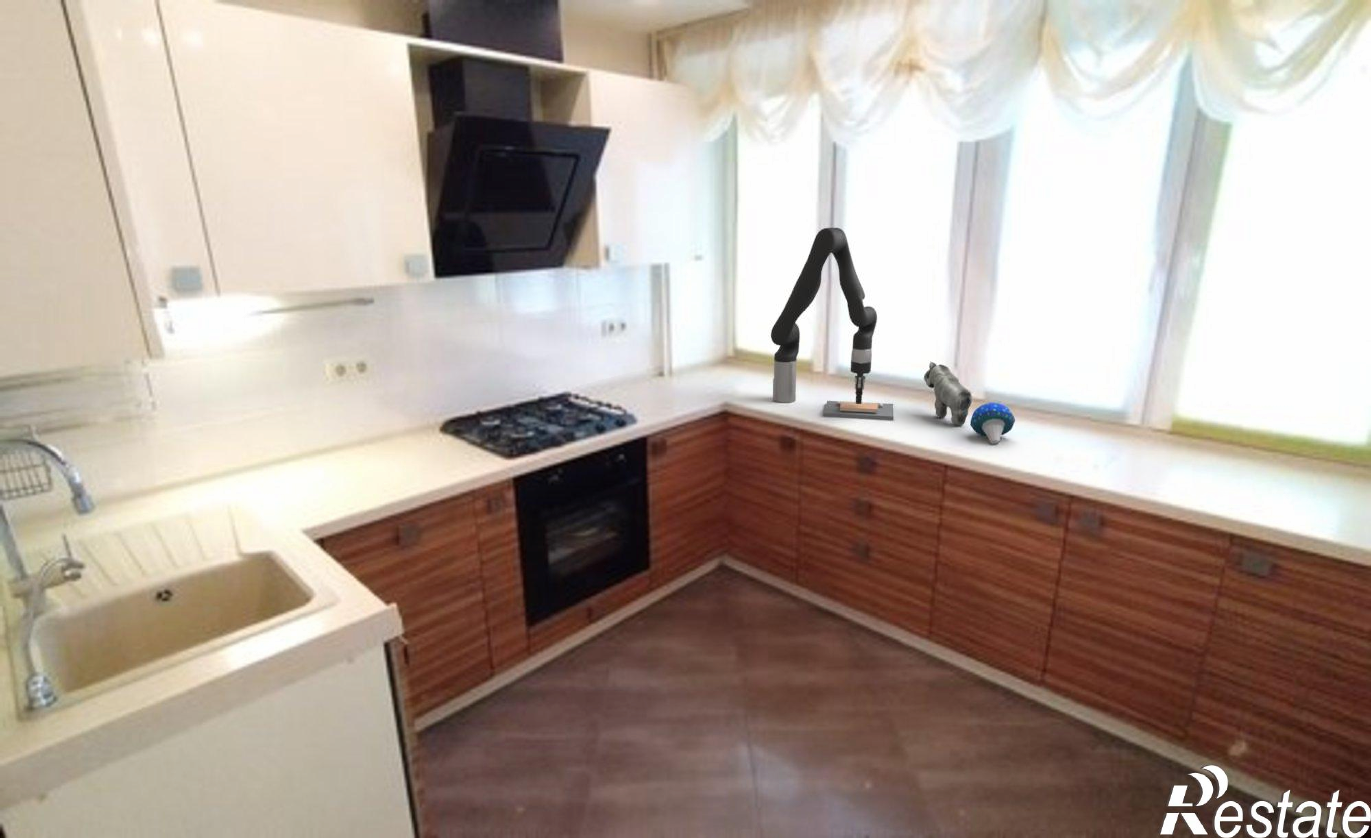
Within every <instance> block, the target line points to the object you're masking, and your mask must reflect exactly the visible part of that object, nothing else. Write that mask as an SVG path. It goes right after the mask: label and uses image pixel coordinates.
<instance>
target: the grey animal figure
mask: <svg viewBox="0 0 1371 838" xmlns="http://www.w3.org/2000/svg"><path fill="white" fill-rule="evenodd" d="M928 367H929V369H928V370H927V371H926V372H925V374H924V376H923V380H924V382H925V384H926V385H927V387H929V388H931V389H933V392H934V396H935V402H934V409H935V415H936V417H938V418H940V419H941V418H945V417H947V414H948V408H949V409H950V413H951V418H950V421H951V423H952V424H953V425H954V426H957V427H961V426H963V425H965V423H966V419H967V417H968V415H969V409H970V407H971V405H972V401H973V395H972V392H971V391H970V390H969V389H968V388H966V386H964V385H963V384H962V383H961V381H960V379H959V378H958V376H957V375H955V374H954V373H953V372H952V371H951V369H950V368H949V367H948V366H946V365H944V364H938V365H937V363H935V362H933V361H930V362H929V366H928Z"/></svg>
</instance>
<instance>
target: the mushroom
mask: <svg viewBox="0 0 1371 838" xmlns="http://www.w3.org/2000/svg"><path fill="white" fill-rule="evenodd" d="M1015 422H1016V418H1015V416H1014V414H1013V413H1012V411H1011V409H1010V408H1009V407H1007V406H1006V405H1004V404H1001V403H999V402H988V403H985V404H981V405H980V406H979V407H977V408H976V409H974V411H973V413H972V415H971V419H970V425H969V426H970V427H971V428H972V429H973V431H974V433H976V434H978V435H980V436H982V437H986V438H988V439H989V442H990V444H991V445H998V444H999V443H1000V439H1001V437H1002V436H1003V435H1006V434H1007V433H1009V432H1010V431H1012V429H1013V427H1014V424H1015Z"/></svg>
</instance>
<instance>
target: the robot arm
mask: <svg viewBox="0 0 1371 838" xmlns="http://www.w3.org/2000/svg"><path fill="white" fill-rule="evenodd" d="M830 255H833V257H834V259H835V261H836V265H837V266H838V278H839V279H838V281H839V285H840V289H841V291H842V293H843V296H844V298H845V301H846V303H847V311H848V316H849V320H850V321H851V323H852V324H853V325H854V326H855V327H857V331H856V332H855V333H854V334H853V337H852V349H851V354H850V355H851V357H850V372H851V373H853V374H856V375H855V376H854V390H855V402H856V404H861V402H863V394H864V389H865V383H866V376H865V374H866V375H867V374H870V373H871V372H872V371H871V370H872V356H873V353H872V352H873V351H872V348H873V347H872V346H873V336H874V333H875V329H876V326H877V323H878V315H877V310H875V308H874V307H872V306H868V305H867V306H864V300H865V298H866V294H865V291H864V288H863V287H862V284H861V281H860V280H859V277H858V274H857V271H856V269H855V265H854V262H853V261H854V260H853V259H852V253H851V251H850V246H849V242H848V238H847V235H846V233H845V231H844V230H843V229H842V228H839V227H825V228H822V229H820V230H819V231H818V232H817V234H816V235H815V237H814V240H813V243H812V245H811V247H810V251H809V254H808V257H807V259H806V261H805V264H804V265H803V267H802V269H801V272H800V274H799V276H798V278H797V280H796V282H795V284H794V286H793V288H792V290H791V294H790V295H789V297H788V299H787V301H786V303H785V305H784V307H783V309H782V311H781V314H780V315H779V316H778V318H777V319H776V321H775V323H774V325H773V327H772V329H771V330H770V331H771V332H770V338H771V341H772V343H773V344H775V345H777V346H779V348H778V349H777V351H775V353H774V356H773V357H774V358H773V361H774V362H773V365H774V366H773V379H772V402H777V403H784V404H785V403H787V404H788V403H793V402H795V401H796V398H797V396H796V395H797V360H798V359H797V357H798V354H799V351H800V350H799V349H800V340H801V336H800V335H801V334H800V333H801V332H800V327H799V326H798V324H797V320H799V318H800V317H801V315H802V314H803V313H804V312H805V311H806V310H807V309H808V308H809V307H810V305H811V304H812V303H813V301H814V300H815V298H816V296H817V294H818V292H819V290H820V287H821V284H822V273H823V268H824V265H825V263H826V262H827V259H828V257H829V256H830Z"/></svg>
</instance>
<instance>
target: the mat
mask: <svg viewBox="0 0 1371 838" xmlns="http://www.w3.org/2000/svg"><path fill="white" fill-rule="evenodd" d="M842 402H846V401H842ZM862 403H866V402H864V401H862ZM877 403H878V409H877V413H870V412H851V411H840V405H841V400H826V404H825V408H824V411H823V417H824V418H826V417H827V418H844V419H845V418H846V419H860V420H863V419H864V420H878V421H879V420H880V421H894V417H895V415H894V403H885V402H884V403H881V402H877Z"/></svg>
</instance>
